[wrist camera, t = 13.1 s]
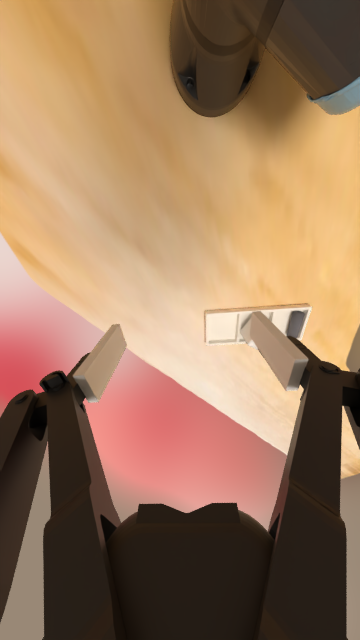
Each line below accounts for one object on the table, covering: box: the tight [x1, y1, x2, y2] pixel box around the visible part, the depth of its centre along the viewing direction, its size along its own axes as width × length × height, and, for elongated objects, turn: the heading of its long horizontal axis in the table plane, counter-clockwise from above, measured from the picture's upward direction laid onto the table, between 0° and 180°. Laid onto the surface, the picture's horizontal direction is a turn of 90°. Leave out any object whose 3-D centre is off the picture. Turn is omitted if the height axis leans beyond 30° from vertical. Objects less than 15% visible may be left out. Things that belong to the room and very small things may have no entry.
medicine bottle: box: [240, 317, 263, 356], centre depth 44 cm, size 7×7×12 cm
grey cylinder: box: [286, 311, 305, 338], centre depth 48 cm, size 8×3×3 cm
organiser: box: [205, 304, 312, 346], centre depth 50 cm, size 12×30×2 cm, turn 95°
